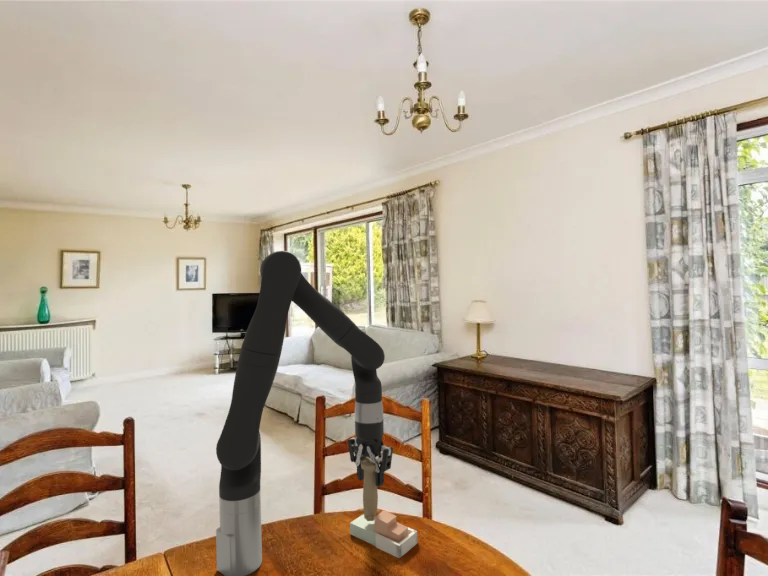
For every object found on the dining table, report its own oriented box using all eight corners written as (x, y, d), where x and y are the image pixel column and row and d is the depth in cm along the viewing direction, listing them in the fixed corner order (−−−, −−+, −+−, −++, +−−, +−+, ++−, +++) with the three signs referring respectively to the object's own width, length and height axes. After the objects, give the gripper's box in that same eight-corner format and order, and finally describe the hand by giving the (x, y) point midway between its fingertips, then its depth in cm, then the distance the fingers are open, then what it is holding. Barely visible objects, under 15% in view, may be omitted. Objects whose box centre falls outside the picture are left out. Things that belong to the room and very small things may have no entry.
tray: (399, 558, 99) (399, 545, 99) (375, 547, 103) (375, 535, 103) (417, 543, 104) (417, 531, 105) (394, 533, 109) (394, 521, 109)
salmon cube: (386, 544, 103) (397, 551, 101) (387, 529, 103) (398, 535, 101) (395, 537, 106) (406, 542, 104) (396, 521, 106) (407, 527, 104)
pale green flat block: (376, 546, 103) (376, 534, 104) (350, 534, 109) (350, 522, 109) (391, 535, 108) (390, 523, 108) (365, 524, 114) (365, 513, 114)
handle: (360, 525, 105) (360, 466, 105) (361, 512, 112) (361, 456, 112) (379, 525, 105) (379, 466, 105) (379, 512, 112) (379, 456, 112)
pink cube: (386, 537, 103) (387, 523, 103) (373, 530, 105) (374, 517, 105) (395, 529, 106) (396, 516, 106) (383, 523, 108) (384, 510, 108)
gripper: (339, 416, 110) (340, 480, 110) (381, 426, 101) (382, 495, 101) (358, 410, 116) (359, 470, 116) (399, 418, 107) (401, 484, 107)
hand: (370, 482), depth 108 cm, fingers closed on handle, 5 cm apart
